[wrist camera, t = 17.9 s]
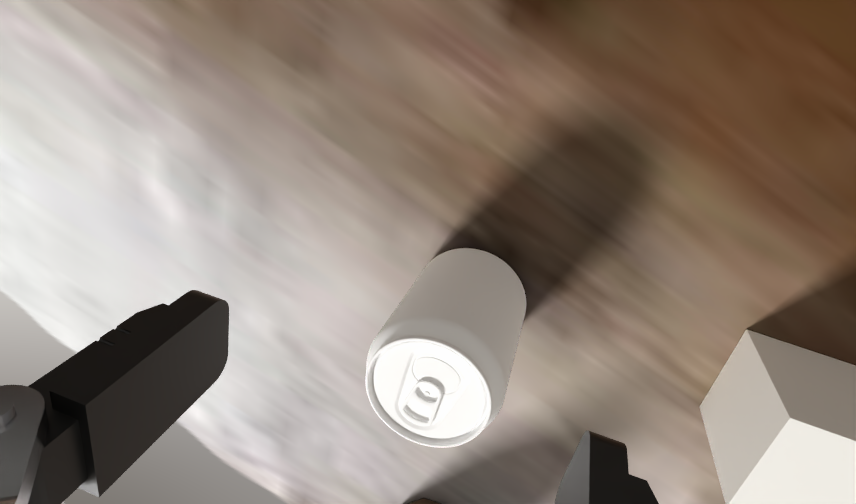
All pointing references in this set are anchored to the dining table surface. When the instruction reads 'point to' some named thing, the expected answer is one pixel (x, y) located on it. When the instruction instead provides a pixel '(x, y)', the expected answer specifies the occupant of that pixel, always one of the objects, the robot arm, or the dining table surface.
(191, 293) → the robot arm
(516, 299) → the beverage can
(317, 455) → the dining table surface
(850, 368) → the white matte cube
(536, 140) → the dining table surface
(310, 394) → the dining table surface
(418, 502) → the beer bottle
